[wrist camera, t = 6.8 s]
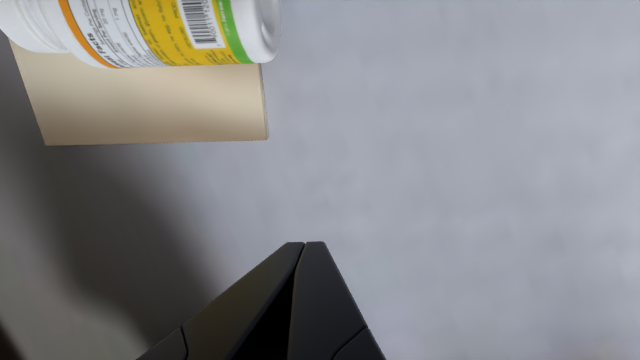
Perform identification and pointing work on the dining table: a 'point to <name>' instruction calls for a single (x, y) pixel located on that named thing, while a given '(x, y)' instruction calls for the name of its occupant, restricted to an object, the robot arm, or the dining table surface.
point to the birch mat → (142, 101)
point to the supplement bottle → (147, 30)
